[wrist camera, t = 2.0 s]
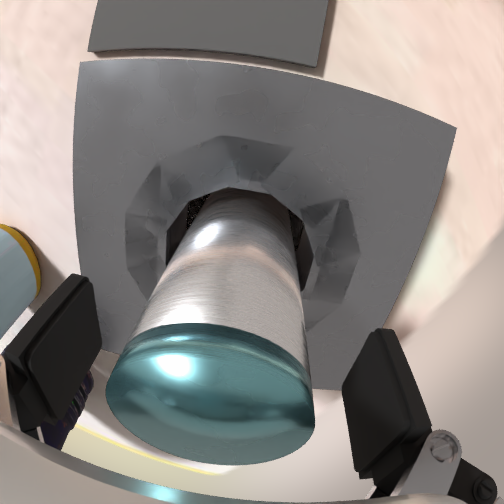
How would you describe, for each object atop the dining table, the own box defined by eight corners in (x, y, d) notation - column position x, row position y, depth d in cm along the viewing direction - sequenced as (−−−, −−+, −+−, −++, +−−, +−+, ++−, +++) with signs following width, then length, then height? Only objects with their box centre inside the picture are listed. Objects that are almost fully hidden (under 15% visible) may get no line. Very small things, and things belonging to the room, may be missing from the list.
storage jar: (67, 398, 28) (21, 498, 15) (7, 340, 24) (-57, 437, 11) (112, 385, 25) (61, 518, 12) (39, 312, 22) (-49, 441, 8)
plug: (204, 174, 16) (87, 331, 5) (298, 190, 16) (349, 378, 5) (195, 256, 18) (123, 443, 7) (279, 271, 18) (284, 471, 8)
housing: (120, 67, 13) (80, 62, 9) (417, 119, 13) (456, 127, 10) (117, 309, 20) (95, 347, 17) (337, 347, 21) (345, 390, 17)
